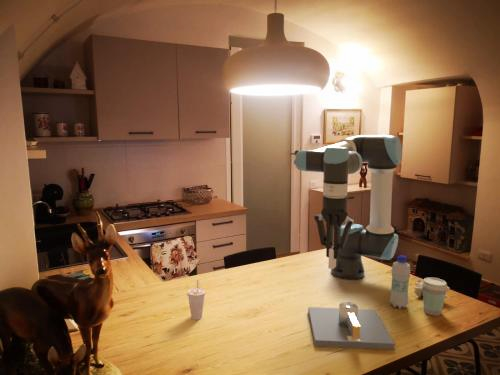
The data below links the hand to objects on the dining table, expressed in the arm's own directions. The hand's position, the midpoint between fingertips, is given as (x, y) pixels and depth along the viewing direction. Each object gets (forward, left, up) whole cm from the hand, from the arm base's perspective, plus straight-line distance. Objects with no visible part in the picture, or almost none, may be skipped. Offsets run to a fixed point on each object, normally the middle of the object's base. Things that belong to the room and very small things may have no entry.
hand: (332, 267), depth 121 cm
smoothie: (-5, -46, -22) cm, 51 cm away
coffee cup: (-16, +40, -22) cm, 49 cm away
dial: (+3, +6, -20) cm, 21 cm away
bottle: (-20, +29, -22) cm, 42 cm away
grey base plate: (-1, +6, -22) cm, 23 cm away
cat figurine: (-28, +44, -22) cm, 57 cm away
